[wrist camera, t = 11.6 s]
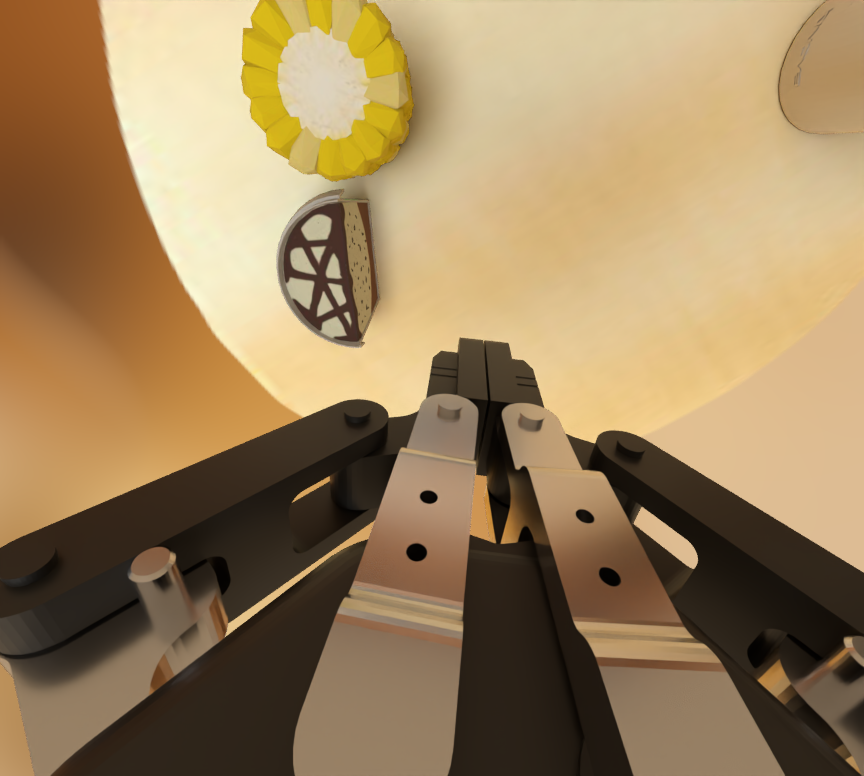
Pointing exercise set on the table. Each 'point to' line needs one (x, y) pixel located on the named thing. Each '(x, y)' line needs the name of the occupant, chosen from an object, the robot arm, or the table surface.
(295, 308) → the chocolate cake half
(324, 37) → the food
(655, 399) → the table surface
